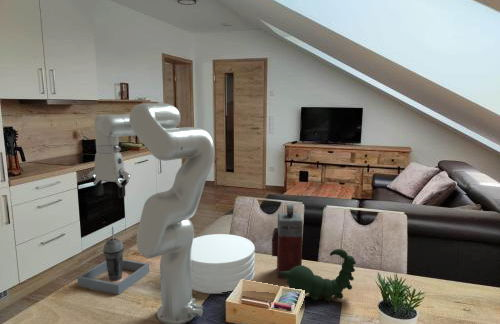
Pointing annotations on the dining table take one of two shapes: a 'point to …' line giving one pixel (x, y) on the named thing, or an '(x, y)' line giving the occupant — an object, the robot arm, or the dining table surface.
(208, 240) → the plate stack
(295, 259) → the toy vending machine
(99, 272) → the grey square frame
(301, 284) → the toy figurine
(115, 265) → the beverage cup
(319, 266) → the dining table surface
